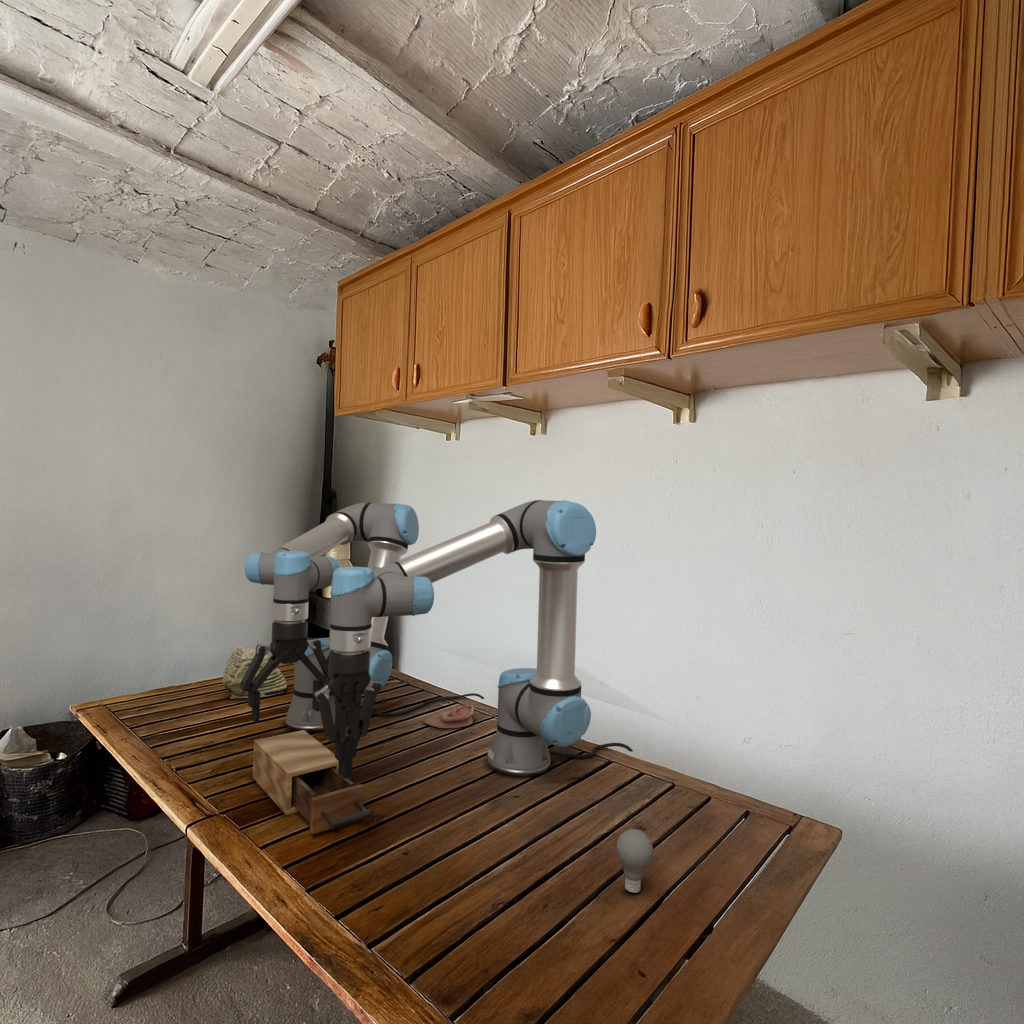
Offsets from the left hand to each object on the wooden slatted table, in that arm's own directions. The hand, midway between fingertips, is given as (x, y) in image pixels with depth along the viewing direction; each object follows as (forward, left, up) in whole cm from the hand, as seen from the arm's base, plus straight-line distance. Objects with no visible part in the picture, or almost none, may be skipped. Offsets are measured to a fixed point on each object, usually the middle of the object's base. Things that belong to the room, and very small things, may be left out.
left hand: (286, 715), depth 142 cm
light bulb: (-16, +78, -14) cm, 81 cm away
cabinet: (+1, +6, -14) cm, 15 cm away
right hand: (+6, +30, -3) cm, 30 cm away
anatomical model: (-51, +1, -14) cm, 53 cm away
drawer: (+4, +21, -13) cm, 25 cm away
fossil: (-25, -58, -14) cm, 65 cm away
